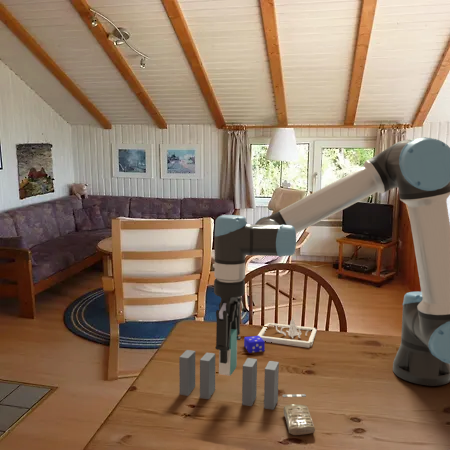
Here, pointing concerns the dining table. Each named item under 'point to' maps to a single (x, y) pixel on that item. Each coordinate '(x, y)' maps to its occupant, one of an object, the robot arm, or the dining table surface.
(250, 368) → the domino
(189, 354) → the domino
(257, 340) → the die
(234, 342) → the domino
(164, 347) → the dining table surface
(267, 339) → the white flat rectangular frame
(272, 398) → the domino
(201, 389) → the domino
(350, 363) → the dining table surface
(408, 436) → the dining table surface
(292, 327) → the shell
